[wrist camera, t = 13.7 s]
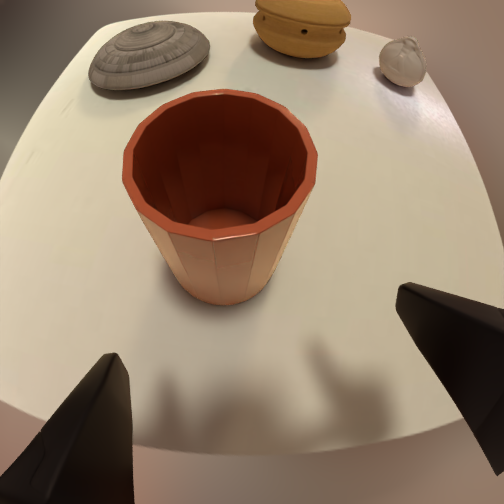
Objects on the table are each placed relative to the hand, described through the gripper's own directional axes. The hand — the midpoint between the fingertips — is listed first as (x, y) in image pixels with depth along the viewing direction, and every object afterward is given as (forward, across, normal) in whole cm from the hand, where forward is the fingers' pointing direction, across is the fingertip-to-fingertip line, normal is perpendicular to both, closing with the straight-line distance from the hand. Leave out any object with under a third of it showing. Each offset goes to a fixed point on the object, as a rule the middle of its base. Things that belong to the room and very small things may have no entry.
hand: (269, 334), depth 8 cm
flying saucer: (+31, +5, -16) cm, 35 cm away
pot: (+31, -14, -16) cm, 38 cm away
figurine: (+26, -26, -11) cm, 39 cm away
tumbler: (+12, 0, +3) cm, 13 cm away
